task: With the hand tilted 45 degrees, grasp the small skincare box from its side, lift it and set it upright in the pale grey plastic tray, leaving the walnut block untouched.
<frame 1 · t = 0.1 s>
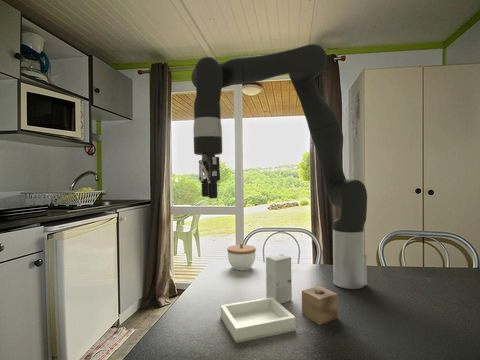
hand: (209, 197, 79), 29 cm above the table, tool pointing down, fingers open, 8 cm apart
skincare box: (279, 300, 82), on the table
lidded jar: (241, 268, 111), on the table
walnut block: (319, 316, 72), on the table
tray: (256, 323, 69), on the table
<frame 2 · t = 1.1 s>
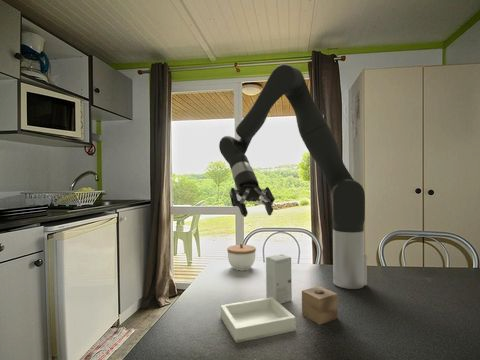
hand: (258, 214, 92), 23 cm above the table, tool tilted 45°, fingers open, 8 cm apart
nothing on the table moved.
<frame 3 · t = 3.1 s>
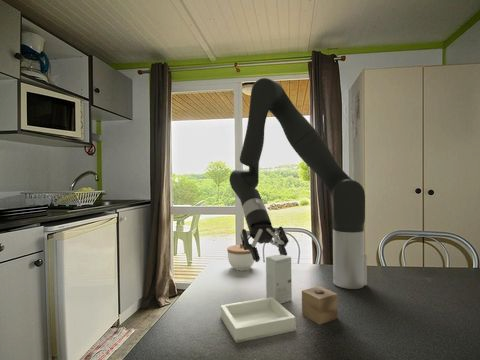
hand: (271, 259, 86), 10 cm above the table, tool tilted 45°, fingers open, 8 cm apart
nothing on the table moved.
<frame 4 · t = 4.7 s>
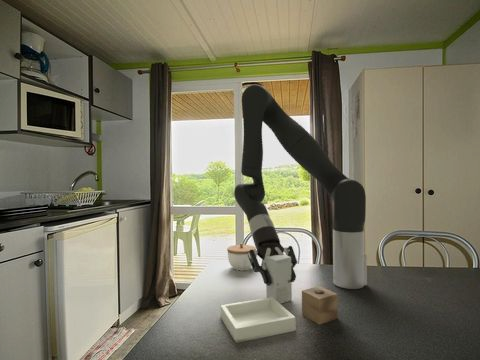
hand: (281, 282, 81), 5 cm above the table, tool tilted 45°, fingers closed on skincare box, 6 cm apart
skincare box: (279, 300, 82), on the table, touching gripper
everything else where it was.
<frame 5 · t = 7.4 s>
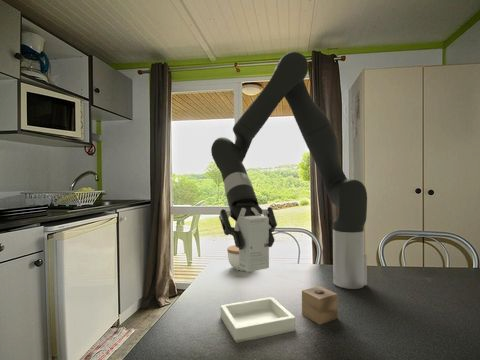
hand: (256, 246, 68), 18 cm above the table, tool tilted 45°, fingers closed on skincare box, 6 cm apart
skincare box: (254, 268, 70), point 13 cm above the table, touching gripper
everything else where it was.
when the fingers open (7 cm above the table, at t = 10.1 s): skincare box drops 1 cm, resting on tray.
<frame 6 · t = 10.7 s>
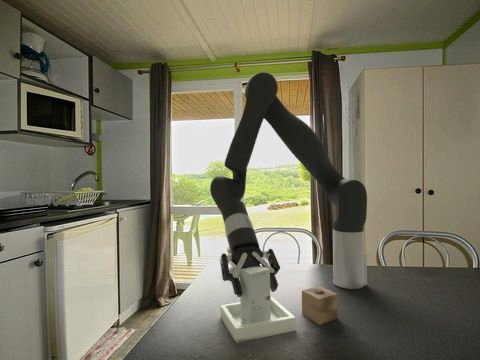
hand: (258, 293, 68), 8 cm above the table, tool tilted 45°, fingers open, 8 cm apart
skincare box: (255, 321, 69), resting on tray
everything else where it was.
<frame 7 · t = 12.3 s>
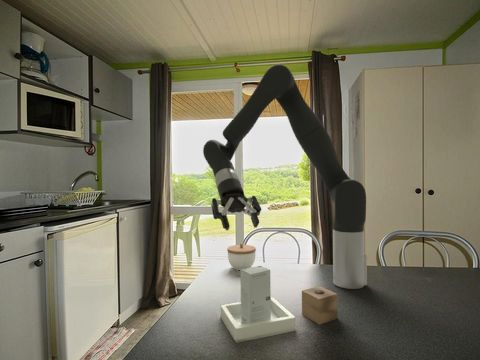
hand: (242, 227, 83), 20 cm above the table, tool tilted 45°, fingers open, 8 cm apart
nothing on the table moved.
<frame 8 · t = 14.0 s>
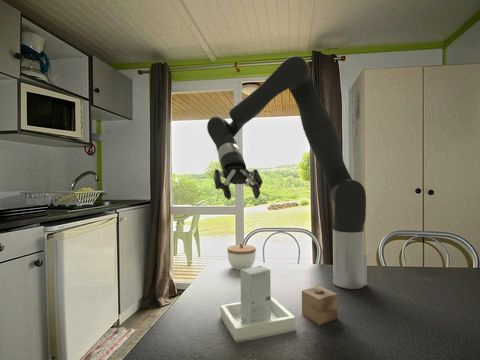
hand: (243, 197, 85), 29 cm above the table, tool tilted 45°, fingers open, 8 cm apart
nothing on the table moved.
at the end: skincare box inside the target area on the tray (0.3 cm from its centre), point 0.4 cm above the tray's base; skincare box tilted 0°; the gripper is holding nothing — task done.
